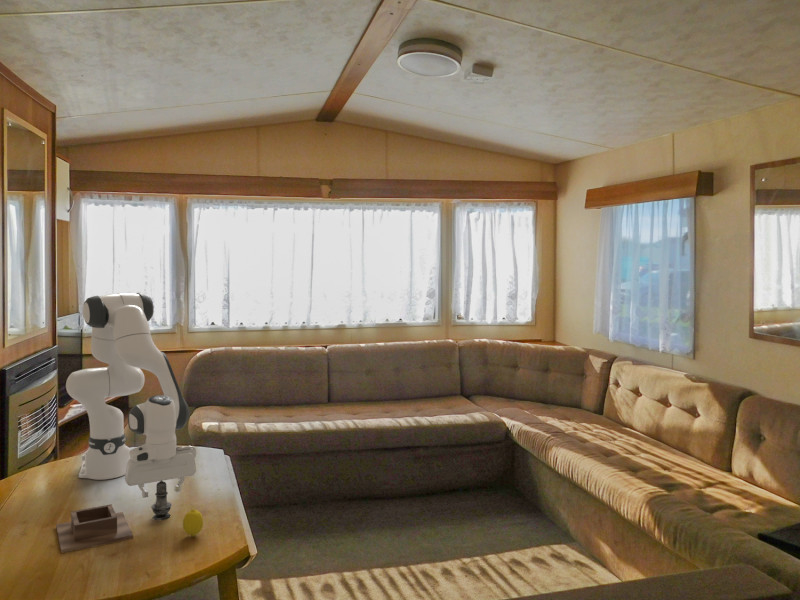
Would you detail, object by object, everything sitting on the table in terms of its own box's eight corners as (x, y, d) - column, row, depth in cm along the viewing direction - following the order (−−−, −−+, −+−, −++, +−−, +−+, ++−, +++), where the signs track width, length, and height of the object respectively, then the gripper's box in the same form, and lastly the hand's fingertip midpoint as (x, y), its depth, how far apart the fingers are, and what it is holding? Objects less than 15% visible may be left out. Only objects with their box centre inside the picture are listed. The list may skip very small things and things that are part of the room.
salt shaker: (164, 521, 190) (164, 483, 189) (147, 519, 191) (147, 481, 190) (175, 514, 196) (175, 476, 195) (158, 512, 197) (158, 474, 196)
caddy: (56, 527, 184) (56, 509, 184) (122, 515, 194) (122, 497, 194) (61, 553, 169) (60, 533, 169) (132, 538, 179) (132, 519, 178)
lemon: (185, 532, 183) (185, 505, 183) (205, 532, 184) (205, 505, 183) (180, 541, 178) (180, 513, 177) (200, 540, 178) (200, 513, 178)
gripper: (193, 442, 200) (193, 484, 201) (123, 451, 189) (124, 496, 190) (198, 447, 194) (198, 491, 195) (127, 457, 184) (127, 503, 184)
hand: (161, 494), depth 192 cm, fingers open, 8 cm apart
